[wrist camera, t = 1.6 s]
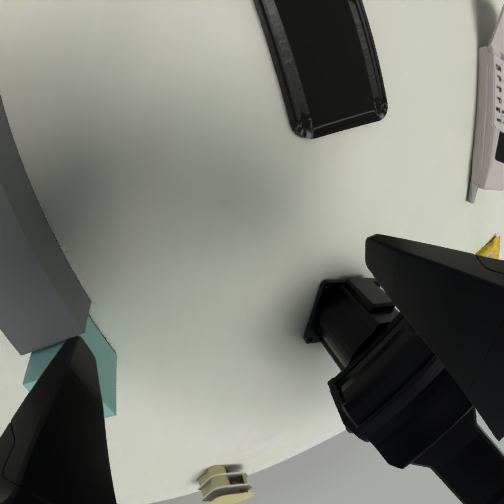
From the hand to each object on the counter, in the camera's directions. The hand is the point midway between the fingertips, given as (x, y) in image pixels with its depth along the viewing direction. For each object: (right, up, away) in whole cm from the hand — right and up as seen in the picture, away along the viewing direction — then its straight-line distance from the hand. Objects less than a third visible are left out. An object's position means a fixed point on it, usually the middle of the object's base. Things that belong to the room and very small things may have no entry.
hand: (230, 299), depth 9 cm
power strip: (-16, +5, +6) cm, 18 cm away
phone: (+5, +16, +8) cm, 19 cm away
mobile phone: (+26, +19, +14) cm, 35 cm away
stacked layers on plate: (-4, -30, +29) cm, 42 cm away
